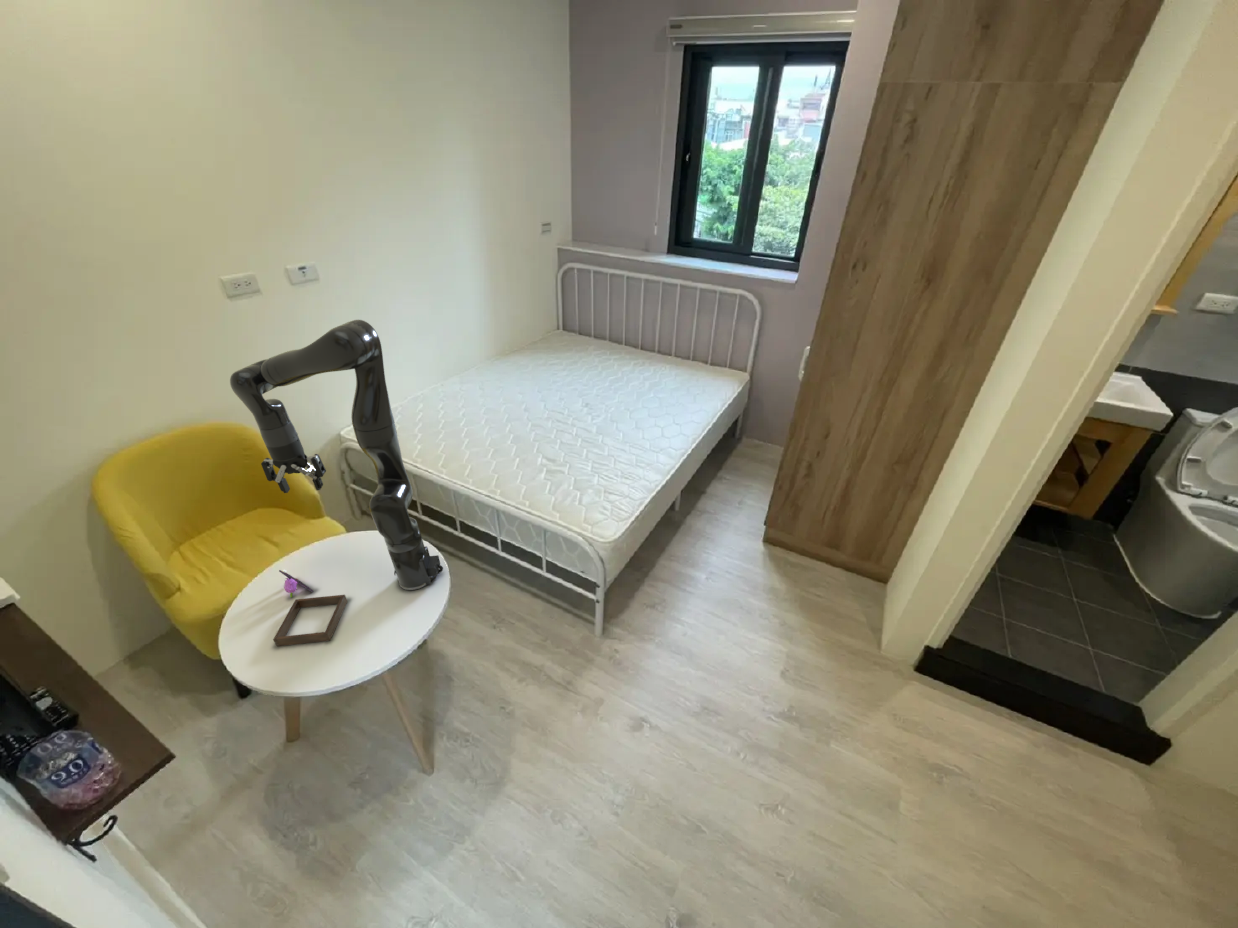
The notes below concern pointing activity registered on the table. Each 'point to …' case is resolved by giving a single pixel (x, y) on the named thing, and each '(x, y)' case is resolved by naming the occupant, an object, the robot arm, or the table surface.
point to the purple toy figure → (292, 583)
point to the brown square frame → (312, 637)
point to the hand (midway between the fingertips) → (303, 490)
